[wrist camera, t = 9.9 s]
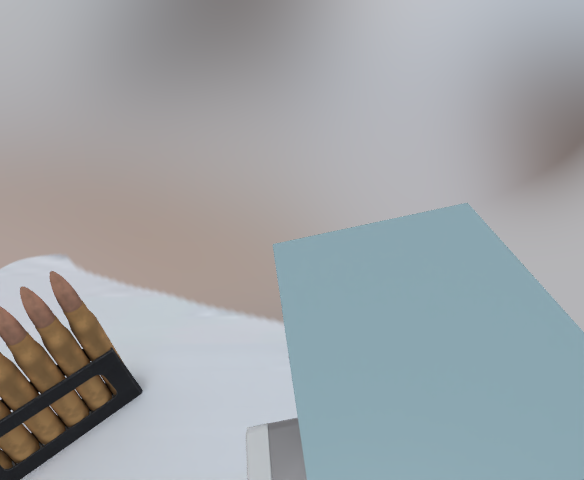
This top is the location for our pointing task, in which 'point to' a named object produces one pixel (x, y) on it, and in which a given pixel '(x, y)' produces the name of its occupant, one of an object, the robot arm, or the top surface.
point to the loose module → (429, 355)
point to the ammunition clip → (55, 380)
